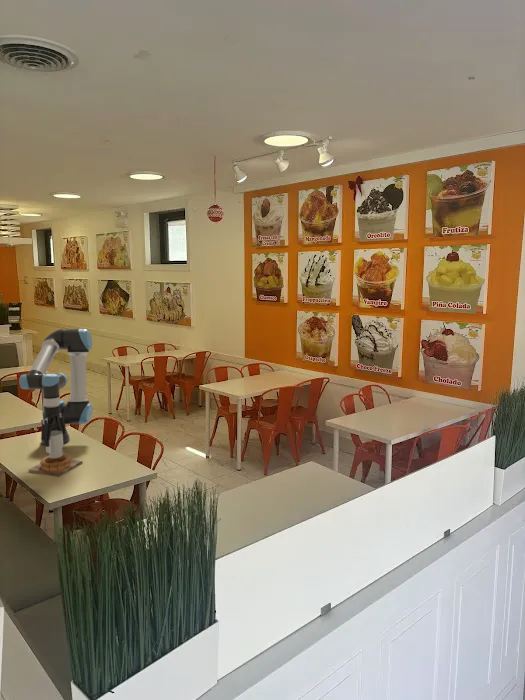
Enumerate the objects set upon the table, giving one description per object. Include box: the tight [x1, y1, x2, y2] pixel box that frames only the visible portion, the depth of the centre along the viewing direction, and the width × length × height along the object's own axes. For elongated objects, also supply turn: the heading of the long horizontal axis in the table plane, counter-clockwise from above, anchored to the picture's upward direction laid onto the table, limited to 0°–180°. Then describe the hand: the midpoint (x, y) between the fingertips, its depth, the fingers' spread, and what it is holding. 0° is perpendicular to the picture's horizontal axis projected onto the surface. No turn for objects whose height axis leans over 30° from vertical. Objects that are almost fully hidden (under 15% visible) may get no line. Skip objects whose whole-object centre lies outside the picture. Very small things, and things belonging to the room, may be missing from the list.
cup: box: [48, 431, 64, 458], centre depth 264 cm, size 8×8×12 cm
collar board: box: [28, 453, 83, 477], centre depth 266 cm, size 18×18×4 cm
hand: (54, 449), depth 265 cm, fingers closed on cup, 8 cm apart
